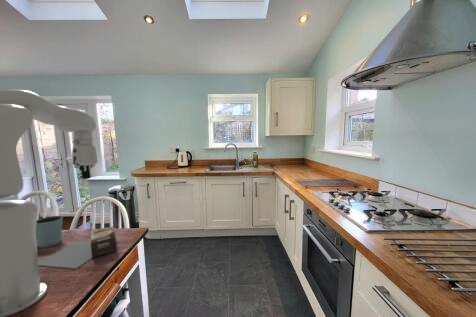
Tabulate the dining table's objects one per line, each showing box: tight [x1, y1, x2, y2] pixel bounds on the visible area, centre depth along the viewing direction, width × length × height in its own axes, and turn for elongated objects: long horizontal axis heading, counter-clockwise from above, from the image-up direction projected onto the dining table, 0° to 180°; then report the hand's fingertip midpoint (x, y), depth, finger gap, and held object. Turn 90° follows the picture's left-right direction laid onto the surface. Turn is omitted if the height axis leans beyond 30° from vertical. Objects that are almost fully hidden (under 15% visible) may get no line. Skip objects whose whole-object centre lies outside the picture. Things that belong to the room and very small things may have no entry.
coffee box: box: [90, 225, 117, 259], centre depth 88 cm, size 9×6×16 cm
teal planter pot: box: [36, 215, 64, 248], centre depth 94 cm, size 10×10×12 cm
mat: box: [38, 240, 95, 270], centre depth 84 cm, size 19×20×1 cm
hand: (86, 178), depth 98 cm, fingers closed
